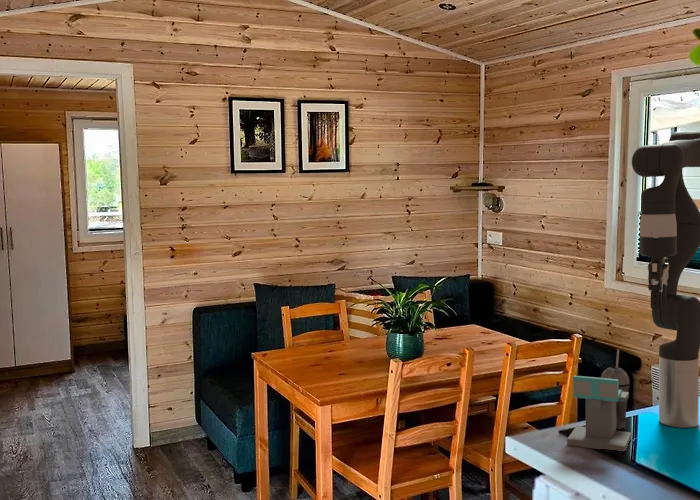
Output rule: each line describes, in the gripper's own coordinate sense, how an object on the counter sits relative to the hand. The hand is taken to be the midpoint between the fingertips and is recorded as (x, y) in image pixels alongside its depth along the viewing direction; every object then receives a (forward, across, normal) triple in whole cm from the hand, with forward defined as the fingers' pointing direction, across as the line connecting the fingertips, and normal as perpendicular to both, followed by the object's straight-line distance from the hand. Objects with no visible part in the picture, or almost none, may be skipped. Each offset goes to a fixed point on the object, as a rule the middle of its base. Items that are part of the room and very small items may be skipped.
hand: (658, 306), depth 160 cm
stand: (+34, -2, -14) cm, 37 cm away
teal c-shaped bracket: (+23, -1, -14) cm, 26 cm away
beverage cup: (+34, -15, -12) cm, 39 cm away
